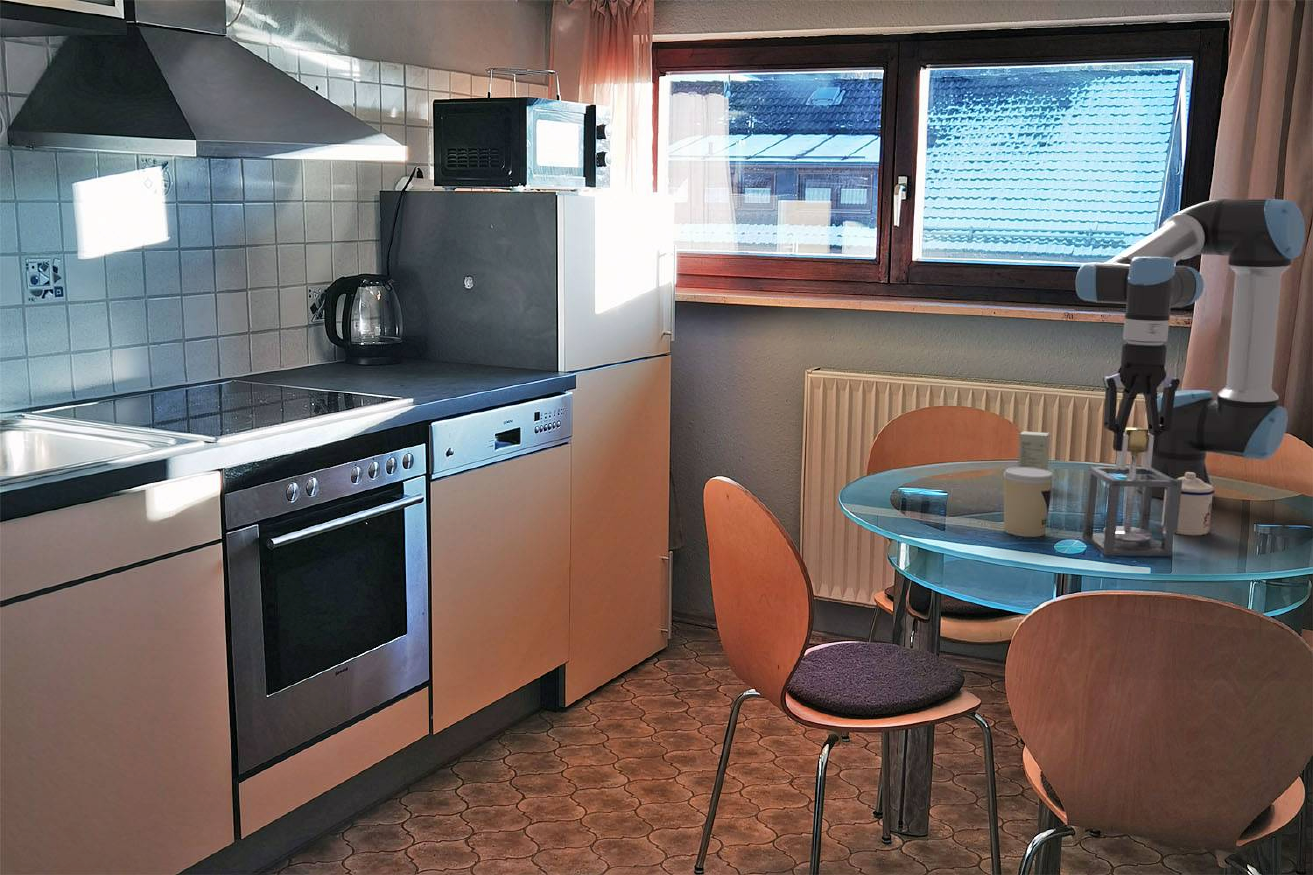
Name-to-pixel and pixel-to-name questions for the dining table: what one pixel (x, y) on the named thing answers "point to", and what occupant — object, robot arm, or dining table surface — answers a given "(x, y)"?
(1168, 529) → the press frame
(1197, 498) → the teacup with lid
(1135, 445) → the plunger
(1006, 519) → the cream lidded tub
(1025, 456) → the skincare box
